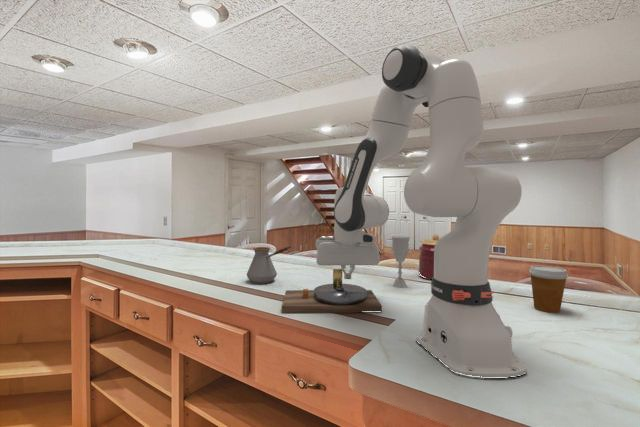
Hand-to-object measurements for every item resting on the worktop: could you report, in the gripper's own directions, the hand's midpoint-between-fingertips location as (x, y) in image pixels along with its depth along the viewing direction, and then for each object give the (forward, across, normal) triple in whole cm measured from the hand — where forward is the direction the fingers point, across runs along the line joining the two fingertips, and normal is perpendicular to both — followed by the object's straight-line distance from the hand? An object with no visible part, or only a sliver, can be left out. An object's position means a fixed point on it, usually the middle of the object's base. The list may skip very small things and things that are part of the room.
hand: (347, 278), depth 108 cm
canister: (+6, +39, +28) cm, 48 cm away
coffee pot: (+6, -27, +19) cm, 33 cm away
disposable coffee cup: (+7, +57, -12) cm, 59 cm away
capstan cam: (+4, -3, -6) cm, 8 cm away
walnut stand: (+6, -6, -6) cm, 11 cm away
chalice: (+6, +21, +15) cm, 26 cm away
